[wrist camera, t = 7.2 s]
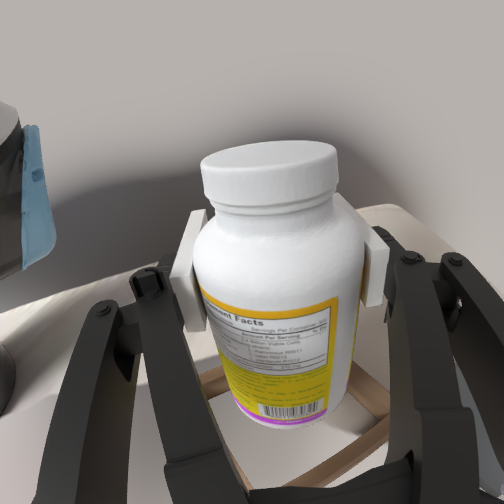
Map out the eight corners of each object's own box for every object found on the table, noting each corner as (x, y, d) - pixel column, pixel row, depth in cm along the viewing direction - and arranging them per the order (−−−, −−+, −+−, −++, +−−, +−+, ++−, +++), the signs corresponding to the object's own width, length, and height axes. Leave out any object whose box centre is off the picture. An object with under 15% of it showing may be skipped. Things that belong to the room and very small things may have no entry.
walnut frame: (186, 397, 21) (178, 383, 20) (309, 339, 25) (309, 322, 24) (256, 522, 12) (251, 518, 11) (404, 426, 16) (411, 412, 15)
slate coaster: (404, 421, 16) (407, 416, 16) (473, 348, 20) (476, 342, 19) (494, 498, 8) (500, 495, 8) (549, 402, 12) (554, 396, 11)
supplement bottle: (288, 329, 20) (271, 133, 14) (368, 377, 16) (399, 145, 9) (209, 386, 17) (142, 168, 10) (288, 457, 12) (264, 193, 6)
